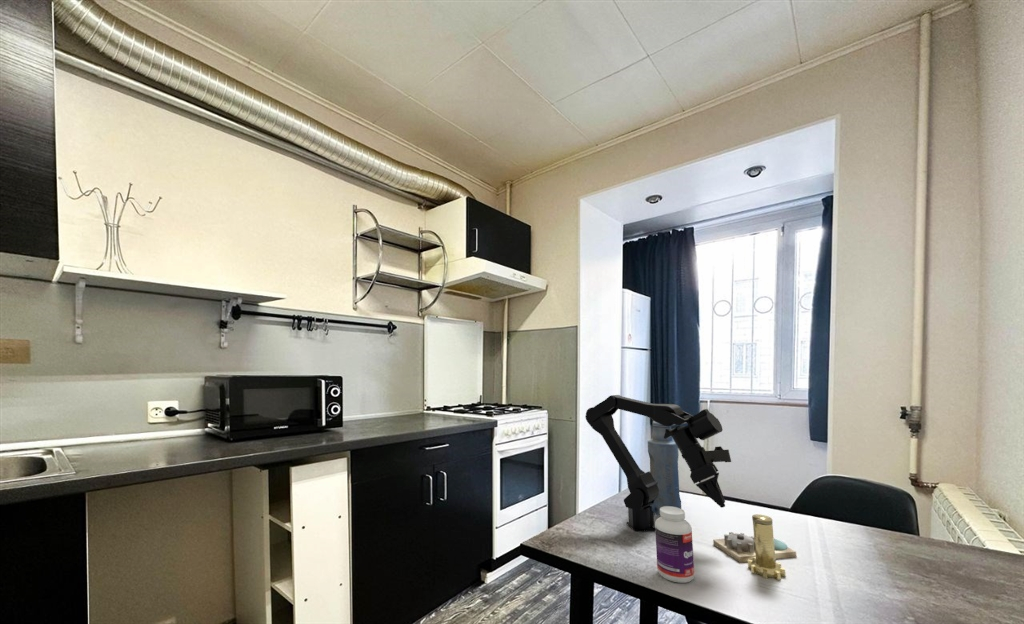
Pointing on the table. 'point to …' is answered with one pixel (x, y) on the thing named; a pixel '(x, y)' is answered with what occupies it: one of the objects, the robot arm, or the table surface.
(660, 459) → the bottle
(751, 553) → the gear board
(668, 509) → the pill bottle
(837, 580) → the table surface
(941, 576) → the table surface
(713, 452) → the robot arm
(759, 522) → the gear
